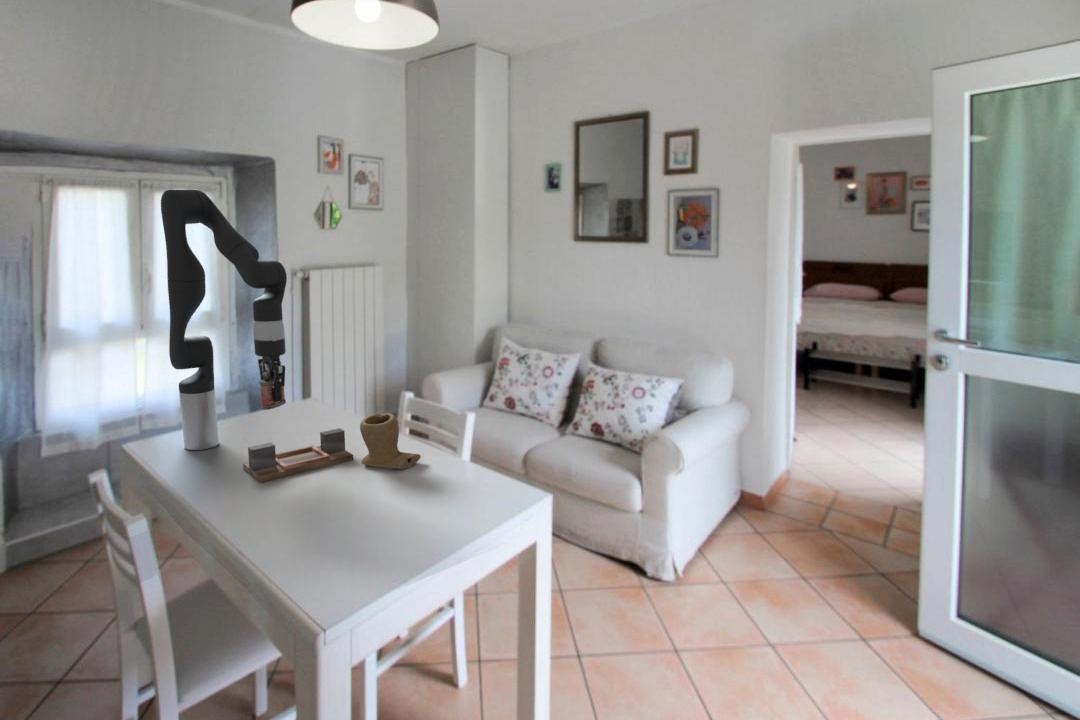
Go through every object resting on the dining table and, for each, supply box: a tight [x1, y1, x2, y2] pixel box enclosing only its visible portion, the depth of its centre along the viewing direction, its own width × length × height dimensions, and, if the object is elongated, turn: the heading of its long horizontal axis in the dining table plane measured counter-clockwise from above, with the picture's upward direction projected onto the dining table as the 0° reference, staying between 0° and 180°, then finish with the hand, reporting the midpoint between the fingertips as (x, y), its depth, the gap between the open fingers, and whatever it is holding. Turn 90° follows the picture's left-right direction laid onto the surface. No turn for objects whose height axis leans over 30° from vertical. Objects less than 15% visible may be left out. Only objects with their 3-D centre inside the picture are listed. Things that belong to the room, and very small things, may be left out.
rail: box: [242, 428, 354, 484], centre depth 174 cm, size 13×26×8 cm, turn 134°
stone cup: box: [359, 412, 422, 470], centre depth 173 cm, size 15×12×15 cm
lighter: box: [258, 371, 287, 411], centre depth 167 cm, size 8×3×10 cm, turn 165°
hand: (273, 398), depth 167 cm, fingers closed on lighter, 4 cm apart
